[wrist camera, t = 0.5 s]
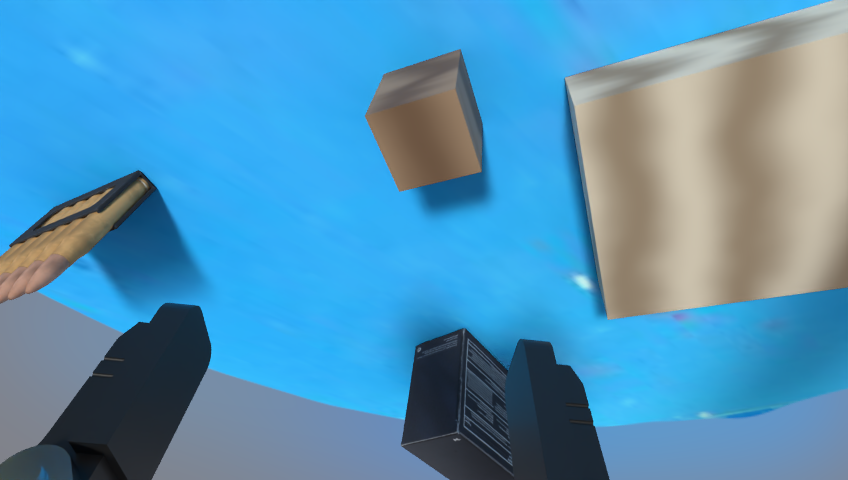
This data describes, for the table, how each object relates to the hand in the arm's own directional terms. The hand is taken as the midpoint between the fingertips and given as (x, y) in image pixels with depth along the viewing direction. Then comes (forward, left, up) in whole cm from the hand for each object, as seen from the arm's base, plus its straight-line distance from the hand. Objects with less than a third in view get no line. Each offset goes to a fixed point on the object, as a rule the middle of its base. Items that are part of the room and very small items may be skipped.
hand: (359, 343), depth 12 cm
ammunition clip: (+30, +3, -22) cm, 37 cm away
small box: (+7, +31, -22) cm, 38 cm away
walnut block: (+1, +3, -21) cm, 21 cm away
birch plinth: (-16, +13, -21) cm, 30 cm away
